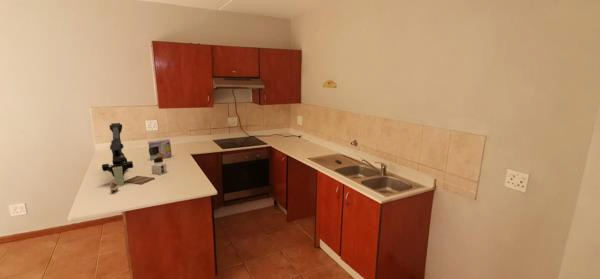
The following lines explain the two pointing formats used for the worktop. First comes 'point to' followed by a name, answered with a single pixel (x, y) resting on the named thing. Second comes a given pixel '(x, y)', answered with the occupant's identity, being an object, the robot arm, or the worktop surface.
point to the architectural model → (113, 186)
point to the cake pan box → (160, 148)
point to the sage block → (118, 175)
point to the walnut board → (139, 180)
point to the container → (158, 166)
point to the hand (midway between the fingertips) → (118, 176)
